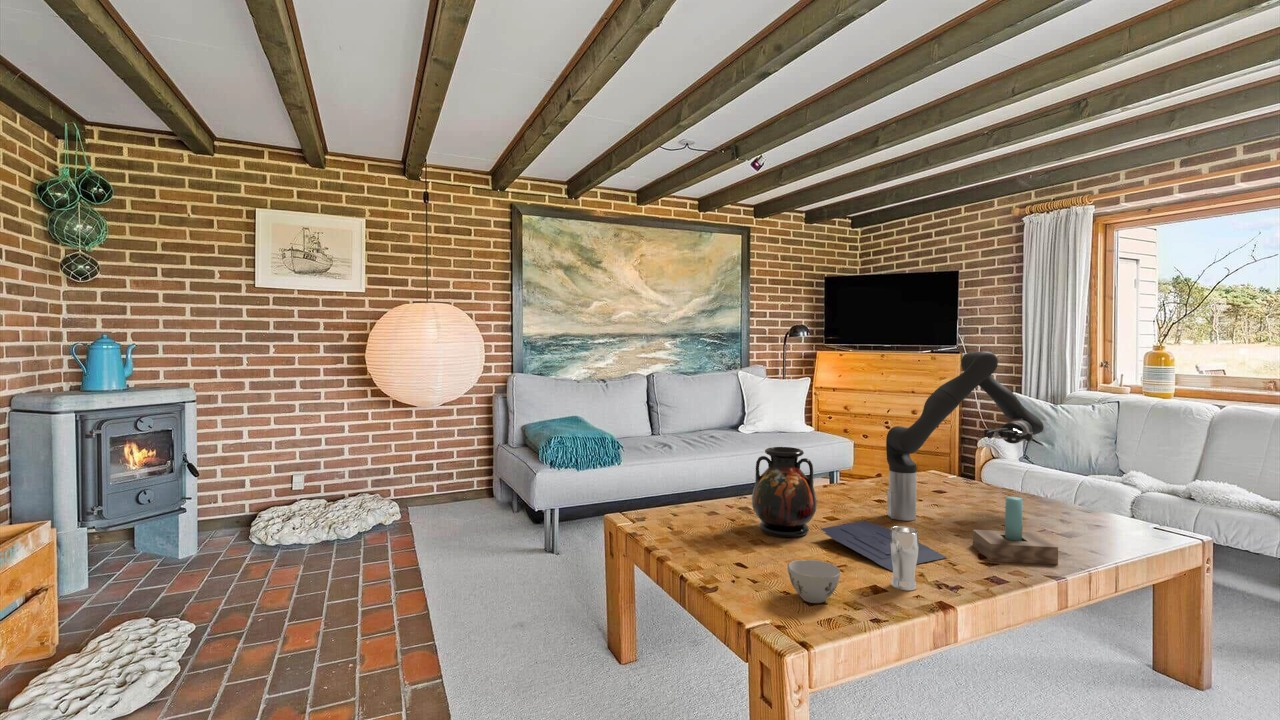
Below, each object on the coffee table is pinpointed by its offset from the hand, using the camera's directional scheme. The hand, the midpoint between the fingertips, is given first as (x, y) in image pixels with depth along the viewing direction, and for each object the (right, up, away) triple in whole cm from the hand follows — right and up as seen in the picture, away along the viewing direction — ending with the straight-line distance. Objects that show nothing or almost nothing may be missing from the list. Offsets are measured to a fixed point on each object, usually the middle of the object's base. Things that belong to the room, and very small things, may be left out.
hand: (1002, 436), depth 207 cm
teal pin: (-11, -32, -24) cm, 41 cm away
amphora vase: (-75, -32, -1) cm, 82 cm away
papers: (-50, -33, -19) cm, 63 cm away
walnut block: (-11, -33, -24) cm, 42 cm away
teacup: (-81, -34, -55) cm, 104 cm away
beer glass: (-55, -33, -48) cm, 80 cm away
